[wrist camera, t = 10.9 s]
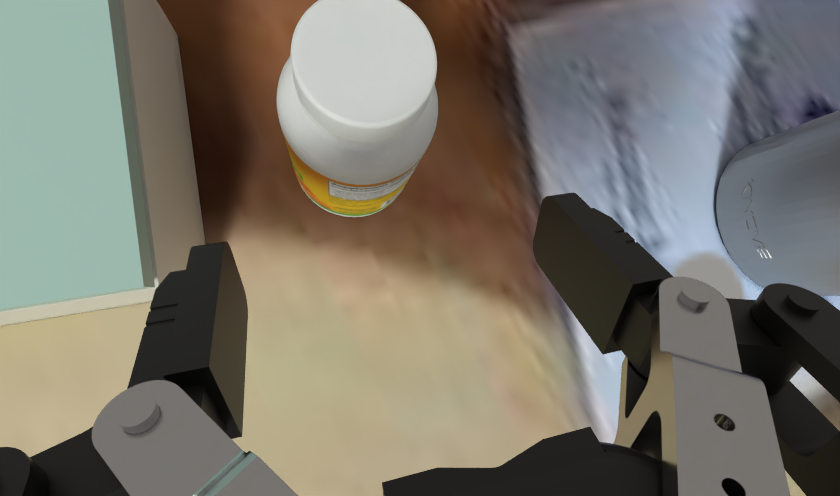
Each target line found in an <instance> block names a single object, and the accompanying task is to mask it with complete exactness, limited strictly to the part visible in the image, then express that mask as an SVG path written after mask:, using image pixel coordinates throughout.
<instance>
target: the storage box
mask: <svg viewBox="0 0 840 496" xmlns="http://www.w3.org/2000/svg"><path fill="white" fill-rule="evenodd" d="M118 1H119V9H120V17H121V25H122V33H123V40H124V48H125V56H126V64H127V72H128V80H129V87H130V95H131V103H132V111H133V119H134V127H135V135H136V142H137V150H138V158H139V166H140V174H141V182H142V189H143V197H144V205H145V213H146V221H147V229H148V237H149V244H150V252H151V260H152V268H153V276H154V284H155V287H154V288H148V289H142V290H135V291H129V292H122V293H116V294H110V295H103V296H97V297H90V298H84V299H78V300H71V301H65V302H59V303H52V304H46V305H39V306H33V307H27V308H20V309H14V310H8V311H1V312H0V326H5V325H11V324H17V323H23V322H29V321H35V320H42V319H48V318H54V317H60V316H66V315H72V314H79V313H85V312H91V311H97V310H103V309H109V308H115V307H122V306H128V305H134V304H140V303H146V302H152V300H153V296H154V293H155V289H156V288H157V287H158V286H159V285H160V283H161V282H162V281H163V280H164V279H165V277H166V276H167V275H168V274H169V273H170V272H174V271H180V270H186V266H187V262H188V257H189V252H190V249H191V247H192V246H198V245H205V236H204V229H203V222H202V214H201V207H200V199H199V192H198V184H197V177H196V169H195V162H194V154H193V147H192V139H191V132H190V125H189V117H188V110H187V102H186V95H185V87H184V80H183V72H182V65H181V57H180V50H179V42H178V35H177V34H176V32H175V30H174V29H173V27H172V25H171V24H170V22H169V20H168V19H167V17H166V15H165V14H164V12H163V10H162V9H161V7H160V5H159V3H158V2H157V0H118Z"/></svg>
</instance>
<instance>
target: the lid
mask: <svg viewBox="0 0 840 496" xmlns="http://www.w3.org/2000/svg"><path fill="white" fill-rule="evenodd" d="M154 287H155V284H154V276H153V268H152V260H151V252H150V244H149V237H148V229H147V221H146V213H145V205H144V197H143V189H142V182H141V174H140V166H139V158H138V150H137V142H136V135H135V127H134V119H133V111H132V103H131V95H130V87H129V80H128V72H127V64H126V56H125V48H124V40H123V33H122V25H121V17H120V9H119V1H118V0H0V312H1V311H8V310H14V309H20V308H27V307H33V306H39V305H46V304H52V303H59V302H65V301H71V300H78V299H84V298H90V297H97V296H103V295H110V294H116V293H122V292H129V291H135V290H142V289H148V288H154Z"/></svg>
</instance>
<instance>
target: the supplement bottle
mask: <svg viewBox="0 0 840 496" xmlns="http://www.w3.org/2000/svg"><path fill="white" fill-rule="evenodd" d="M436 74H437V56H436V50H435V46H434V43H433V40H432V37H431V35H430V33H429V31H428V30H427V28H426V26H425V25H424V23H423V22H422V20H421V19H420V18H419V17H418V16H417V15H416V13H415V12H413V11H412V10H411V9H410V8H409V7H408V6H406V5H405V4H404V3H402V2H401V1H399V0H318V1H317V2H316V3H314V4H313V5H312V6H311V7H310V8H309V9H308V10H307V11H306V12H305V13H304V15H303V16H302V17H301V19H300V21H299V22H298V24H297V26H296V28H295V31H294V34H293V38H292V43H291V56H290V57H289V59H288V60H287V62H286V63H285V65H284V67H283V69H282V72H281V75H280V78H279V83H278V88H277V111H278V116H279V122H280V125H281V129H282V132H283V135H284V139H285V142H286V145H287V148H288V151H289V154H290V158H291V161H292V164H293V167H294V170H295V174H296V176H297V179H298V181H299V183H300V185H301V187H302V189H303V190H304V192H305V193H306V194H307V196H308V197H309V198H310V199H311V200H312V201H313V202H314V203H316V204H317V205H318V206H319V207H321V208H323V209H324V210H326V211H328V212H331V213H333V214H336V215H341V216H346V217H362V216H367V215H371V214H374V213H376V212H378V211H380V210H382V209H384V208H385V207H387V206H388V205H389V204H391V203H392V202H393V201H394V200H395V199H396V198H397V197H398V195H399V194H400V193H401V191H402V190H403V188H404V187H405V185H406V183H407V182H408V180H409V178H410V177H411V175H412V173H413V172H414V170H415V168H416V166H417V165H418V163H419V161H420V160H421V158H422V157H423V155H424V153H425V152H426V150H427V148H428V146H429V144H430V142H431V140H432V138H433V135H434V132H435V128H436V124H437V117H438V97H437V91H436V87H435V84H434V83H435V79H436Z"/></svg>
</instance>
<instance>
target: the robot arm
mask: <svg viewBox="0 0 840 496" xmlns="http://www.w3.org/2000/svg"><path fill="white" fill-rule="evenodd" d="M716 213H717V220H718V227H719V230H720V233H721V236H722V239H723V242H724V245H725V247H726V249H727V250H728V252H729V254H730V256H731V258H732V260H733V261H734V262H735V263H736V265H737V266H738V267H739V268H740V270H741V271H742V272H743V273H744V274H745V275H746V276H747V277H748V278H750V279H751V280H752V281H753V282H754V283H755V284H757V285H759V286H761V287H762V288H764V289H763V291H762V292H761V294H760V295H759V297H758V298H757V300H743V299H728V298H725V297H724V296H723V295H722V294H721V293H720V292H719V291H717V290H716V289H714V288H713V287H711V286H710V285H708V284H706V283H704V282H701V281H699V280H695V279H692V278H687V277H673V276H672V275H671V274H670V273H669V272H668V271H667V270H666V269H665V268H664V267H663V266H662V265H661V264H660V263H658V262H657V261H656V260H655V259H654V258H653V257H652V256H651V255H650V254H649V253H648V252H647V251H646V250H645V249H644V248H643V247H642V246H641V245H640V244H639V243H638V242H636V243H635V241H634V239H633V238H632V237H631V236H630V235H629V234H628V233H627V232H624V229H623V228H622V227H621V226H620V225H619V224H618V223H617V222H616V221H615V220H613V219H612V218H611V217H609V216H607V215H606V214H604V213H602V212H600V211H598V210H596V209H594V208H590V207H589V206H588V205H587V204H586V203H585V202H584V201H583V200H582V199H581V198H580V197H579V196H578V195H577V194H575V193H567V194H560V195H553V196H547V197H545V198H544V199H543V201H542V204H541V208H540V213H539V217H538V222H537V227H536V231H535V236H534V240H533V252H534V257H535V259H536V262H537V264H538V265H539V267H540V268H541V269H542V271H543V272H544V273H545V275H546V276H547V278H548V279H549V280H550V282H551V283H552V285H553V286H554V287H555V289H556V290H557V292H558V293H559V294H560V296H561V297H562V298H563V300H564V301H565V303H566V304H567V305H568V307H569V308H570V310H571V311H572V312H573V314H574V315H575V317H576V318H577V319H578V321H579V322H580V323H581V325H582V326H583V328H584V329H585V330H586V332H587V333H588V335H589V336H590V337H591V339H592V340H593V342H594V343H595V344H596V346H597V347H598V348H599V350H600V351H601V353H602V354H607V353H611V352H615V351H620V350H622V352H623V353H624V354H625V356H626V357H625V359H624V361H623V363H622V372H621V388H620V404H619V419H618V429H617V434H616V438H615V441H614V444H610V443H603V442H599V441H598V439H597V437H596V436H595V434H594V432H593V431H592V429H591V427H587V428H583V429H580V430H576V431H572V432H568V433H565V434H561V435H557V436H554V437H550V438H546V439H543V440H541V441H540V442H538V443H536V444H535V445H533V446H532V447H530V448H528V449H527V450H525V451H524V452H522V453H521V454H519V455H517V456H516V457H514V458H513V459H511V460H509V461H508V462H506V463H505V464H503V465H501V466H499V467H496V468H435V469H431V470H427V471H423V472H420V473H416V474H412V475H408V476H405V477H401V478H397V479H394V480H390V481H386V482H382V486H383V496H790V492H789V488H788V483H787V479H786V474H785V470H786V472H787V473H788V474H789V475H790V476H791V478H792V479H793V480H794V481H795V482H796V484H797V485H798V486H799V487H800V488H801V490H802V491H803V492H804V493H805V494H806V496H840V431H839V430H838V429H837V428H836V427H835V426H834V425H833V424H832V423H831V422H830V421H829V420H828V419H827V418H826V417H825V416H824V415H823V414H822V413H821V412H820V411H819V410H818V409H817V408H816V407H815V406H814V405H813V404H812V403H811V402H810V401H809V400H808V399H807V398H806V397H805V396H804V395H803V394H802V393H801V392H800V391H799V390H798V389H797V388H796V387H795V386H794V385H793V384H792V383H791V382H790V381H789V380H790V379H791V378H792V377H793V376H794V375H795V374H796V372H797V371H798V370H799V369H800V368H801V367H803V368H804V369H805V370H806V371H807V372H808V373H810V374H811V375H812V376H813V377H814V378H815V379H816V380H817V381H818V382H819V383H820V384H821V385H822V386H823V387H824V388H825V389H826V390H827V391H828V392H829V393H830V394H831V395H832V396H834V397H835V398H836V399H837V400H838V401H839V402H840V311H839V310H838V309H837V308H835V307H834V306H833V305H832V304H830V303H829V302H828V301H826V300H825V299H824V298H822V297H821V296H840V110H838V111H836V112H833V113H831V114H827V115H824V116H822V117H819V118H817V119H814V120H811V121H809V122H806V123H804V124H801V125H799V126H796V127H793V128H791V129H788V130H786V131H783V132H780V133H778V134H775V135H773V136H770V137H768V138H765V139H762V140H760V141H757V142H755V143H752V144H750V145H747V146H746V147H744V148H743V149H742V150H740V151H739V152H738V153H736V154H735V156H734V157H733V158H732V159H731V160H730V162H729V163H728V164H727V166H726V168H725V170H724V172H723V174H722V176H721V178H720V183H719V187H718V191H717V202H716ZM150 309H151V312H149V314H148V317H147V321H146V327H145V328H144V332H143V335H142V339H141V342H140V346H139V350H138V353H137V357H136V360H135V364H134V367H133V371H132V375H131V378H130V382H129V385H128V388H127V390H125V391H123V392H122V393H120V394H119V395H117V396H116V397H115V398H113V399H112V400H111V401H110V402H109V403H108V404H107V405H106V406H105V407H104V409H103V410H102V411H101V412H100V414H99V415H98V417H97V419H96V421H95V423H94V426H93V427H92V428H90V429H88V430H87V431H85V432H83V433H81V434H79V435H77V436H75V437H73V438H71V439H69V440H66V441H64V442H62V443H60V444H58V445H56V446H54V447H51V448H49V449H47V450H45V451H43V452H41V453H39V454H36V455H34V456H32V457H28V456H27V455H26V454H25V453H24V452H22V451H21V450H19V449H16V448H11V447H0V496H298V495H297V494H296V493H295V492H294V491H293V490H292V489H291V488H290V487H289V486H288V485H287V484H286V483H285V482H284V481H283V480H282V479H281V478H280V477H279V476H278V475H277V474H276V473H275V472H274V471H273V470H272V469H270V468H269V467H268V466H267V465H266V464H265V463H264V462H263V461H262V460H261V459H260V458H259V457H258V456H257V455H255V454H254V453H252V452H250V451H248V452H247V453H246V452H244V451H243V450H242V449H241V448H240V447H239V446H238V445H237V444H236V443H235V442H234V441H233V440H232V439H233V438H237V437H242V427H243V406H244V384H245V363H246V341H247V320H248V308H247V300H246V294H245V290H244V287H243V284H242V281H241V278H240V275H239V272H238V269H237V266H236V263H235V260H234V257H233V254H232V251H231V248H230V246H229V244H228V242H219V243H212V244H205V245H198V246H192V247H191V249H190V252H189V257H188V262H187V266H186V270H180V271H174V272H170V273H169V274H168V275H167V276H166V277H165V279H164V280H163V281H162V282H161V283H160V285H159V286H158V287H157V288H156V289H155V293H154V296H153V300H152V303H151V307H150ZM784 469H785V470H784Z"/></svg>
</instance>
